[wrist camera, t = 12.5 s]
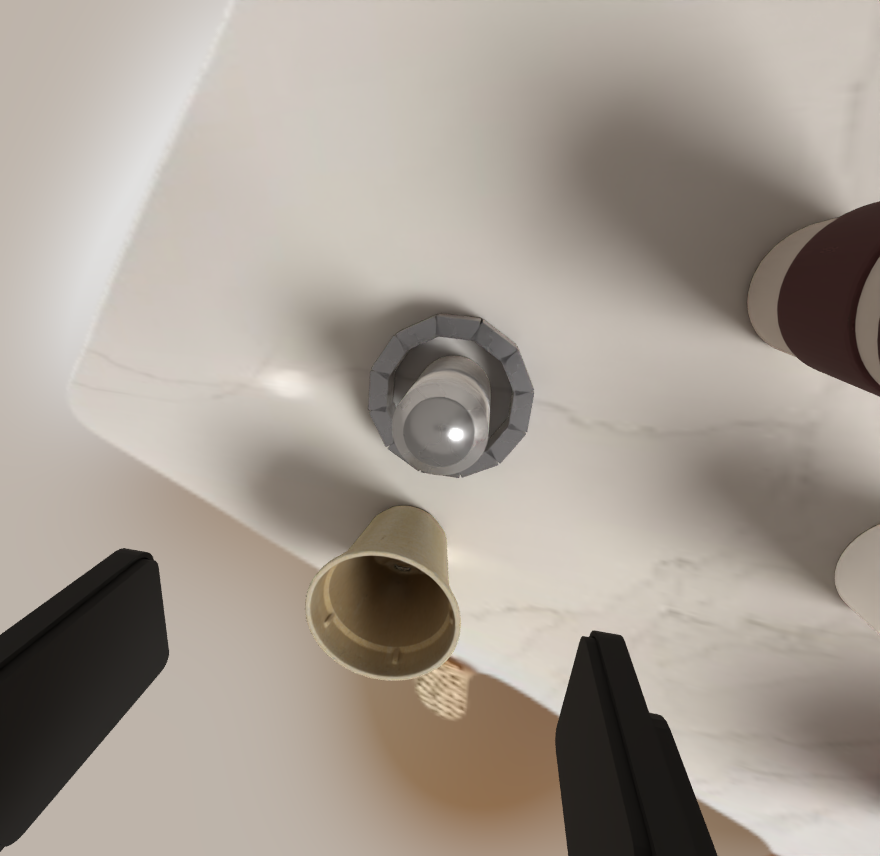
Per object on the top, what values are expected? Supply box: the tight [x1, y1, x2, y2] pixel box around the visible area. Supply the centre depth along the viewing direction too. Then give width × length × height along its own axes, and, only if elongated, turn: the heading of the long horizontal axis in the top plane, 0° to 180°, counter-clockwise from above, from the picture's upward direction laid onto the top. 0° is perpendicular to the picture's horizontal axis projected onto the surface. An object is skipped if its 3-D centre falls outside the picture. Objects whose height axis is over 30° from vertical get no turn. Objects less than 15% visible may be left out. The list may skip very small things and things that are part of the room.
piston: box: [392, 356, 491, 475], centre depth 27 cm, size 5×5×8 cm
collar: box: [368, 313, 534, 478], centre depth 30 cm, size 10×10×2 cm
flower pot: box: [305, 506, 461, 681], centre depth 31 cm, size 9×9×9 cm
